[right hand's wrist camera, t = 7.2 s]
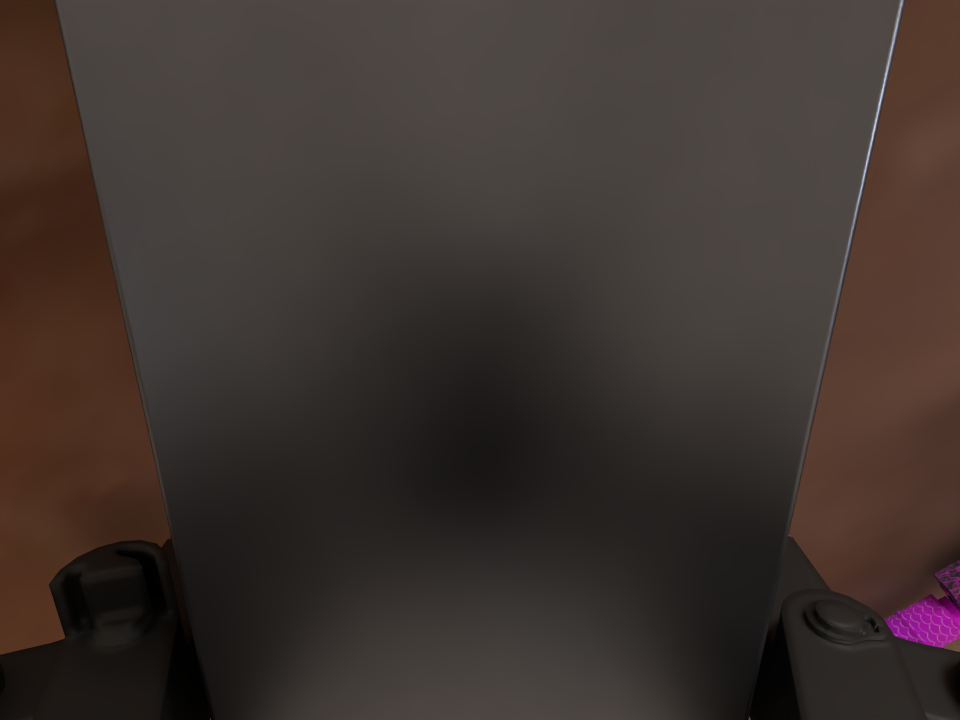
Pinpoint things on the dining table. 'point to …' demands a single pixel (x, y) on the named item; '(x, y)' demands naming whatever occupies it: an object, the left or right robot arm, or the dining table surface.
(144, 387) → the bar
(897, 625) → the handgun
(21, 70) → the dining table surface
